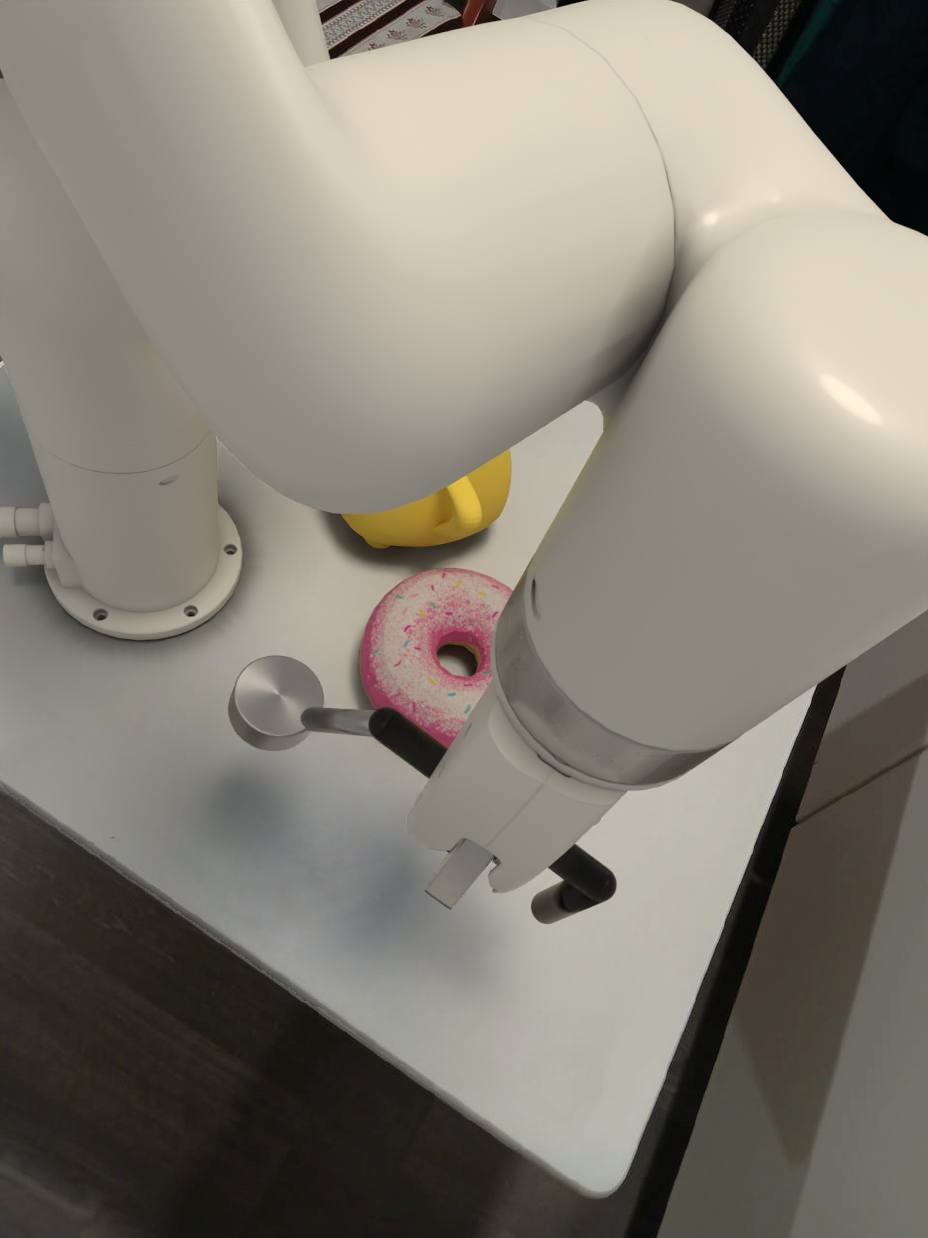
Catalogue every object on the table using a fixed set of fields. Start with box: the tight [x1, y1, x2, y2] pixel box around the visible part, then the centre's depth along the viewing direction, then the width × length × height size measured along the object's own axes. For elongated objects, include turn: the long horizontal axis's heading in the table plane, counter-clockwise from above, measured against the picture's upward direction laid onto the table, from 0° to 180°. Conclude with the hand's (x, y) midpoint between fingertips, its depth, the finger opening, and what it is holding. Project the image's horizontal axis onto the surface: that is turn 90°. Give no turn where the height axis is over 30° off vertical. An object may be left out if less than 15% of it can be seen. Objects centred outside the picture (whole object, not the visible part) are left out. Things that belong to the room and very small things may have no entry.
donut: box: [359, 567, 514, 748], centre depth 55 cm, size 14×13×5 cm
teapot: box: [340, 448, 513, 550], centre depth 59 cm, size 13×20×12 cm
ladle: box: [227, 655, 618, 925], centre depth 39 cm, size 20×4×7 cm, turn 58°
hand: (473, 819), depth 39 cm, fingers closed on ladle
